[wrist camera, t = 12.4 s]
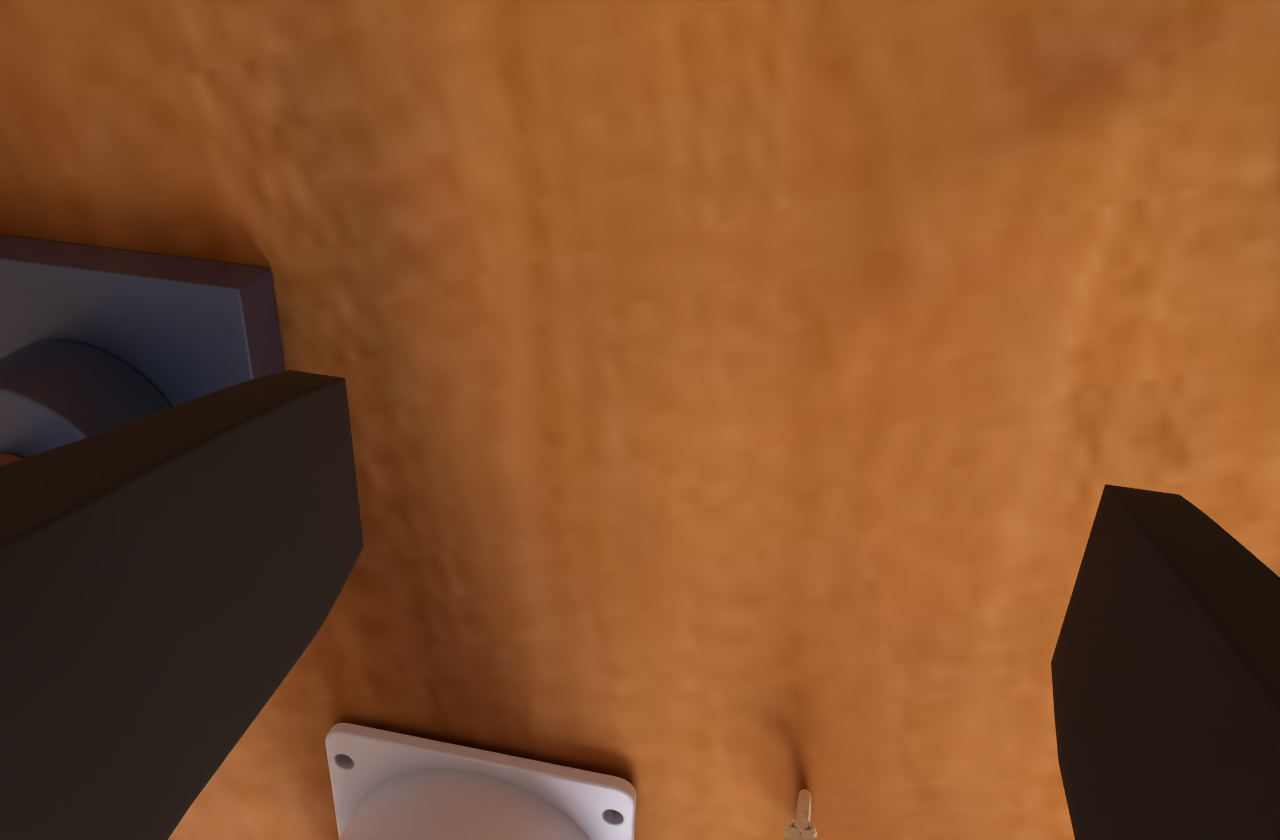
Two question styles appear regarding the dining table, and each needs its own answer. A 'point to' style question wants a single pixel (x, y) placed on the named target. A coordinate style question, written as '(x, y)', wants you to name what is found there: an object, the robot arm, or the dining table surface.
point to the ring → (801, 820)
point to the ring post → (120, 337)
